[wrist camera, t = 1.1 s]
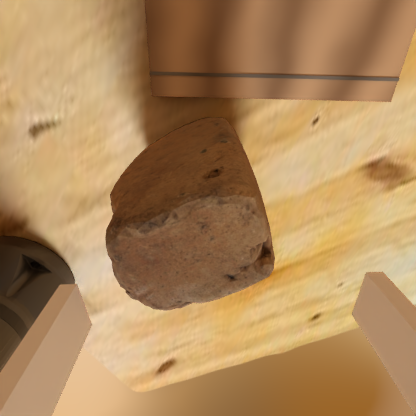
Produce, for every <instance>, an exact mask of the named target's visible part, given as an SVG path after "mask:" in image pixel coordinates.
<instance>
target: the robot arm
mask: <svg viewBox="0 0 416 416" xmlns="http://www.w3.org/2000/svg"><path fill="white" fill-rule="evenodd" d="M352 315H353V317H354V319H355V320H356V322H357V323H358V325H359V326H360V328H361V330H362V331H363V333H364V334H365V336H366V338H367V339H368V341H369V342H370V344H371V346H372V347H373V349H374V350H375V352H376V354H377V355H378V357H379V358H380V360H381V361H382V363H383V365H384V366H385V368H386V369H387V371H388V373H389V374H390V376H391V378H392V379H393V381H394V382H395V384H396V385H397V387H398V389H399V390H400V392H401V393H402V395H403V397H404V398H405V400H406V401H407V403H408V405H409V406H410V408H411V409H412V411H413V412H414V414H415V416H416V307H415V306H414V305H413V304H412V303H411V302H410V301H409V300H408V299H407V298H406V297H405V295H404V294H403V293H402V292H401V291H400V290H399V289H398V288H397V287H396V286H395V285H394V283H393V282H392V281H391V280H390V279H389V278H388V277H387V276H386V275H385V274H384V273H383V272H368V273H366V274H365V277H364V280H363V283H362V286H361V289H360V292H359V295H358V298H357V300H356V303H355V306H354V309H353V312H352ZM91 326H92V323H91V321H90V318H89V315H88V313H87V310H86V307H85V304H84V302H83V299H82V296H81V294H80V291H79V288H78V286H77V284H75V283H74V278H73V275H72V273H71V271H70V269H69V268H68V266H67V265H66V264H65V262H64V261H63V260H62V259H61V258H60V257H59V256H57V255H56V254H55V253H54V252H52V251H51V250H49V249H48V248H46V247H44V246H42V245H40V244H38V243H35V242H33V241H30V240H27V239H23V238H18V237H11V236H0V416H52V414H53V412H54V409H55V407H56V405H57V403H58V400H59V398H60V396H61V394H62V391H63V389H64V387H65V384H66V382H67V380H68V378H69V375H70V373H71V371H72V369H73V366H74V364H75V362H76V359H77V357H78V355H79V353H80V351H81V348H82V346H83V344H84V342H85V339H86V337H87V335H88V332H89V330H90V328H91Z"/></svg>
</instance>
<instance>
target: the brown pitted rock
mask: <svg viewBox="0 0 416 416" xmlns="http://www.w3.org/2000/svg"><path fill="white" fill-rule="evenodd" d="M110 198H111V206H112V211H113V213H114V214H113V216H112V220H111V222H110V224H109V225H108V227H107V230H106V248H107V252H108V256H109V257H110V259H111V261H112V268H113V272H114V275H115V277H116V279H117V281H118V282H119V284H120V286H121V287H122V288H124V289H125V290H126V293H127V294H128V295H129V296H130V297H131V298H132V299H135V300H139V301H140V302H141V303H143V304H144V305H145V306H150V307H151V308H153V309H159V310H172V309H175V308H182V307H184V306H187V305H189V304H191V303H204V302H209V301H213V300H217V299H220V298H222V297H225V296H227V295H229V294H232V293H235V292H238V291H241V290H243V289H245V288H247V287H249V286H251V285H253V284H255V283H257V282H259V281H261V280H263V279H265V278H267V277H269V276H270V274H271V273H272V271H273V269H274V260H275V257H274V252H273V246H272V238H271V232H270V226H269V223H268V219H267V215H266V211H265V207H264V203H263V200H262V196H261V193H260V190H259V187H258V184H257V181H256V178H255V175H254V173H253V170H252V168H251V165H250V163H249V160H248V158H247V155H246V153H245V151H244V149H243V146H242V144H241V142H240V140H239V138H238V136H237V134H236V132H235V130H234V129H233V128H232V126H231V125H230V124H229V123H228V122H227V121H226V120H225V119H224V118H221V117H219V118H210V117H207V118H204V119H200V120H197V121H195V122H192V123H190V124H187V125H185V126H182V127H181V128H178V129H176V130H174V131H172V132H171V133H169V134H167V135H166V136H164V137H163V138H161V139H159V140H158V141H156V142H155V143H153V144H151V145H149V146H148V147H147V148H146V149H145V150H143V151H142V152H141V153H140V154H139V155H138V156H137V157H136V158H135V159H134V161H133V162H132V163H131V164H130V165H129V166H128V167H127V169H126V170H125V171H124V172H123V174H122V175H121V177H120V178H119V180H118V181H117V182H116V184H115V186H114V188H113V190H112V192H111V194H110Z"/></svg>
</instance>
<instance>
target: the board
mask: <svg viewBox="0 0 416 416" xmlns="http://www.w3.org/2000/svg"><path fill="white" fill-rule="evenodd" d="M145 10H146V23H147V37H148V50H149V63H150V77H151V90H152V96H172V97H213V98H254V99H295V100H336V101H376V102H391V100H392V97H393V94H394V91H395V88H396V85H397V82H398V81H399V76H400V73H401V70H402V67H403V64H404V61H405V58H406V55H407V52H408V49H409V46H410V43H411V40H412V37H413V34H414V31H415V28H416V0H145Z"/></svg>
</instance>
